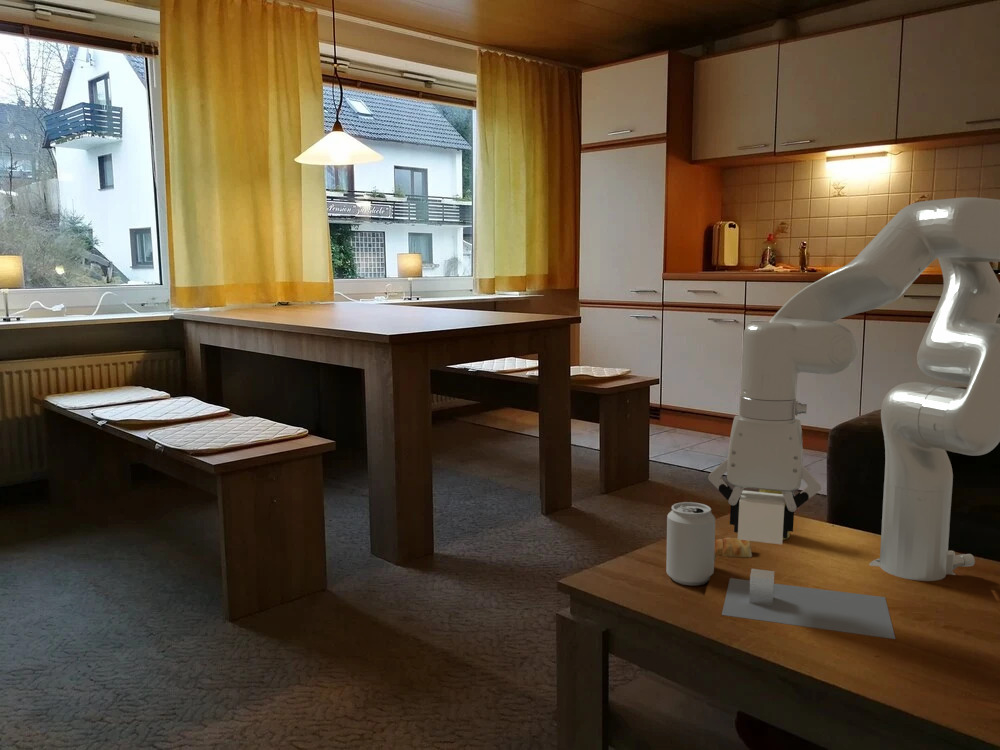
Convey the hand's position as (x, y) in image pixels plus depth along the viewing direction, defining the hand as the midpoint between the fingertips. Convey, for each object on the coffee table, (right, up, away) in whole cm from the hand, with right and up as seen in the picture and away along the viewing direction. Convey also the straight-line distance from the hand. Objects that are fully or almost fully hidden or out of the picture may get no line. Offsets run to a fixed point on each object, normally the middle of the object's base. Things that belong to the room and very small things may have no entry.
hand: (760, 531), depth 114 cm
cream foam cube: (0, -1, 0) cm, 1 cm away
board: (+6, -12, 0) cm, 14 cm away
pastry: (+2, -9, +22) cm, 24 cm away
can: (-7, -11, +14) cm, 19 cm away
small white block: (+1, -10, +2) cm, 10 cm away
